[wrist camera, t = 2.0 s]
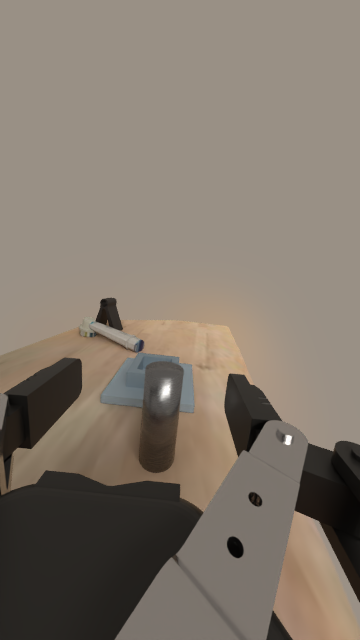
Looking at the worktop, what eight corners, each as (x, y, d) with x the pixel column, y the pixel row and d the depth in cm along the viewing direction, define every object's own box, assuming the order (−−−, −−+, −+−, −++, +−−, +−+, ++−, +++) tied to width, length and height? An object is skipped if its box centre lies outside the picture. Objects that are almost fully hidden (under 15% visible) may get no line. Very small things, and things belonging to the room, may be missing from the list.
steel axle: (135, 470, 23) (141, 376, 21) (143, 440, 28) (149, 359, 25) (172, 474, 23) (183, 381, 21) (174, 443, 27) (184, 363, 25)
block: (100, 402, 34) (101, 378, 33) (127, 363, 50) (128, 346, 49) (193, 412, 34) (196, 389, 33) (191, 370, 50) (193, 353, 49)
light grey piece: (135, 342, 55) (76, 314, 65) (131, 363, 57) (75, 332, 67) (146, 337, 59) (90, 312, 69) (143, 357, 61) (88, 329, 71)
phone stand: (92, 330, 73) (92, 297, 71) (101, 326, 79) (102, 296, 76) (114, 333, 72) (115, 300, 69) (122, 329, 78) (124, 299, 75)
